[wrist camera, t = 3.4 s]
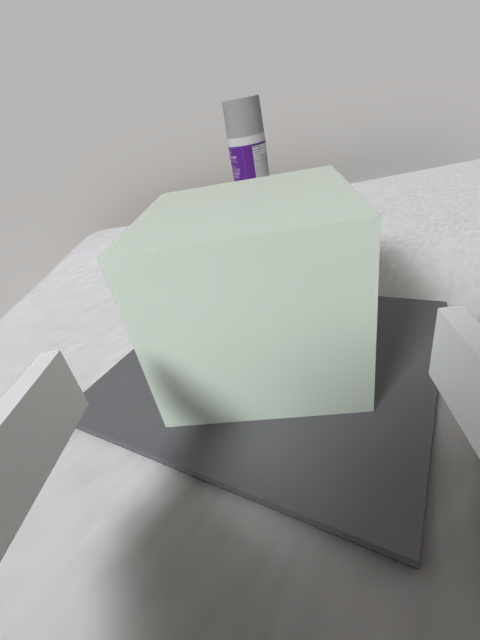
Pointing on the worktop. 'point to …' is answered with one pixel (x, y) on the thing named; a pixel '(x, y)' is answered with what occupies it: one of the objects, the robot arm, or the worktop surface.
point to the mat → (307, 442)
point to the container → (246, 138)
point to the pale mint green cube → (253, 298)
